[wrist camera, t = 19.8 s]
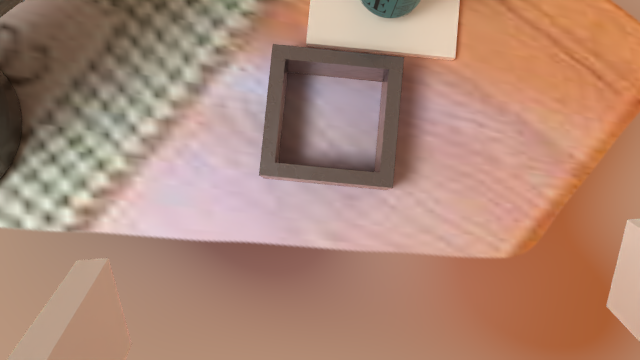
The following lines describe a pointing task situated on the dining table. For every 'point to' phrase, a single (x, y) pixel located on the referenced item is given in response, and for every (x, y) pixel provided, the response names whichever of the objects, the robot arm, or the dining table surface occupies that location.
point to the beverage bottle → (390, 7)
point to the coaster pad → (385, 29)
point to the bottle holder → (343, 67)
